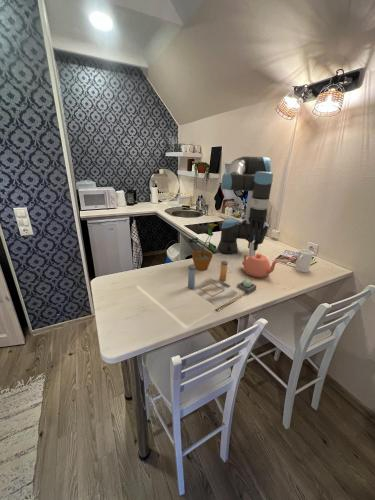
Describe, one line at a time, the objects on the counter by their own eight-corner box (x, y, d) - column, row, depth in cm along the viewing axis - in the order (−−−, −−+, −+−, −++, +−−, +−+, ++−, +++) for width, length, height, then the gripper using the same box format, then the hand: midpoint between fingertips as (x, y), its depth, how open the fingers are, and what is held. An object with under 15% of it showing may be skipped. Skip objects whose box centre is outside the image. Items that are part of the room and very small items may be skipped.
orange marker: (218, 281, 123) (219, 261, 118) (222, 279, 125) (224, 260, 120) (222, 283, 121) (224, 264, 116) (227, 281, 123) (229, 262, 118)
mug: (301, 274, 133) (306, 256, 128) (288, 269, 139) (292, 251, 134) (311, 270, 139) (316, 252, 134) (299, 264, 145) (303, 247, 141)
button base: (236, 288, 117) (237, 284, 116) (244, 284, 121) (245, 280, 120) (248, 294, 112) (248, 290, 111) (255, 289, 116) (256, 285, 115)
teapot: (281, 275, 131) (285, 256, 126) (268, 285, 120) (272, 264, 116) (248, 263, 145) (250, 245, 140) (234, 271, 135) (237, 252, 130)
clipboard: (183, 288, 115) (183, 286, 114) (209, 276, 127) (209, 274, 127) (217, 311, 98) (217, 309, 98) (244, 295, 111) (244, 293, 110)
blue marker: (186, 287, 114) (187, 266, 110) (191, 284, 116) (192, 264, 112) (190, 290, 112) (191, 269, 107) (196, 287, 114) (197, 267, 109)
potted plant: (221, 268, 137) (226, 221, 125) (202, 279, 124) (206, 228, 112) (199, 259, 148) (202, 216, 136) (180, 269, 135) (181, 221, 123)
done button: (240, 285, 116) (241, 280, 115) (245, 283, 118) (246, 278, 117) (247, 289, 113) (248, 284, 112) (252, 286, 115) (253, 281, 114)
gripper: (241, 206, 102) (235, 252, 111) (268, 211, 93) (259, 262, 102) (250, 204, 107) (244, 249, 116) (277, 209, 97) (268, 258, 106)
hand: (251, 255), depth 109 cm, fingers closed
